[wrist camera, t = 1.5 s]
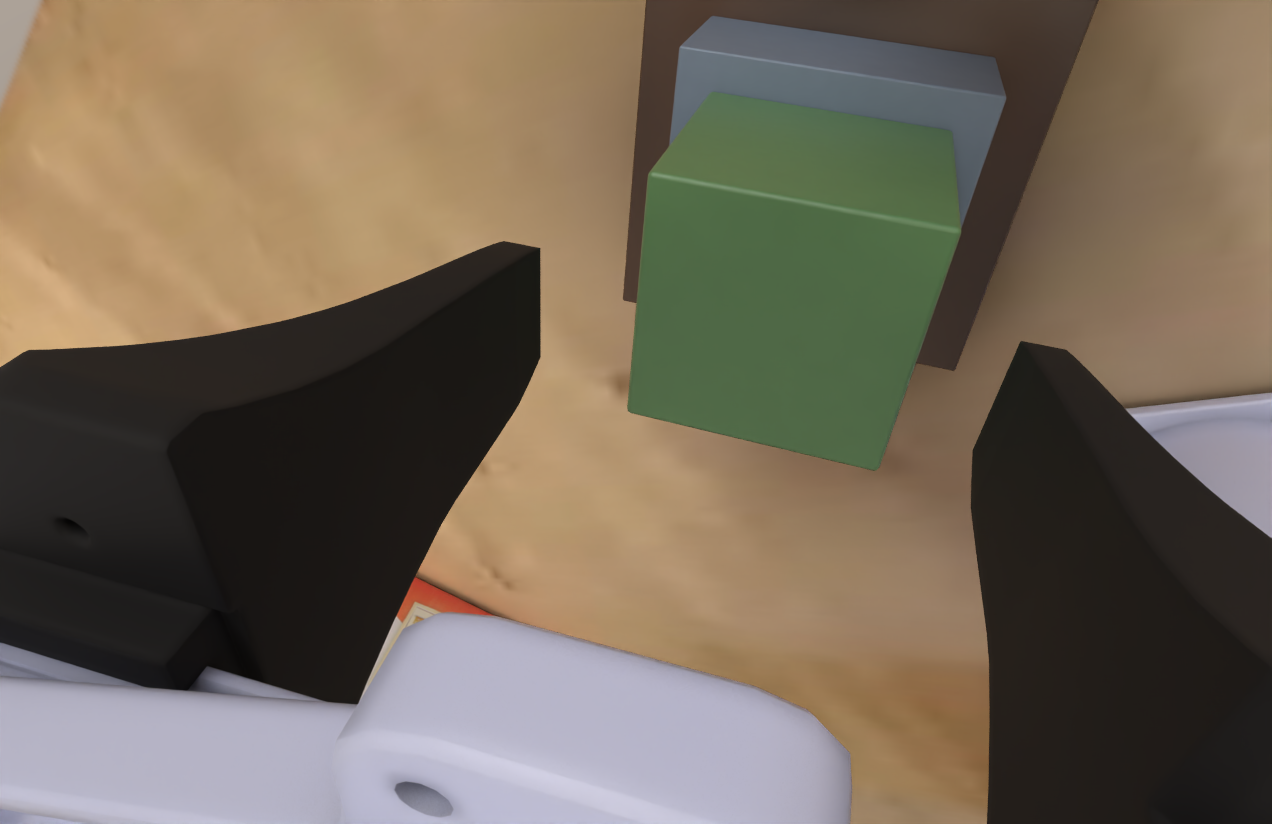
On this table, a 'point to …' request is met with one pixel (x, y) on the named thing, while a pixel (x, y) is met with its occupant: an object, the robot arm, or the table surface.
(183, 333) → the table surface
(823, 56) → the blue-grey block
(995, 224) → the walnut slab
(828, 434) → the green block
